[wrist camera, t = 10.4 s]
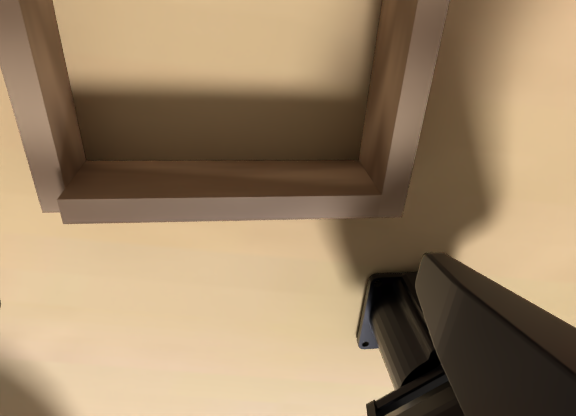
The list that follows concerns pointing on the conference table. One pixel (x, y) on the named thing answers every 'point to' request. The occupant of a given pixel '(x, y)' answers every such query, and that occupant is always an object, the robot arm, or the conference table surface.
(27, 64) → the wooden square frame
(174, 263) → the conference table surface
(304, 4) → the conference table surface
